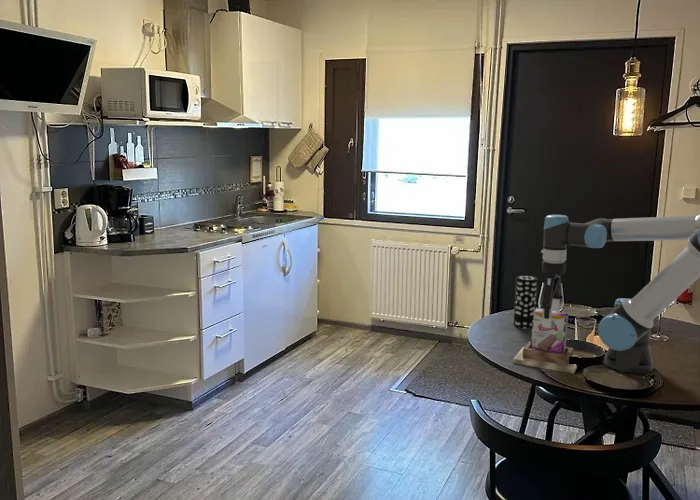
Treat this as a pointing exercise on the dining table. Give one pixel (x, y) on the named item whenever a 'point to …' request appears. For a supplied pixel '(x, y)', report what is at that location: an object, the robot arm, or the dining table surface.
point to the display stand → (545, 359)
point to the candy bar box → (549, 332)
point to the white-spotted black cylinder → (525, 301)
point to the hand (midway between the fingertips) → (550, 322)
